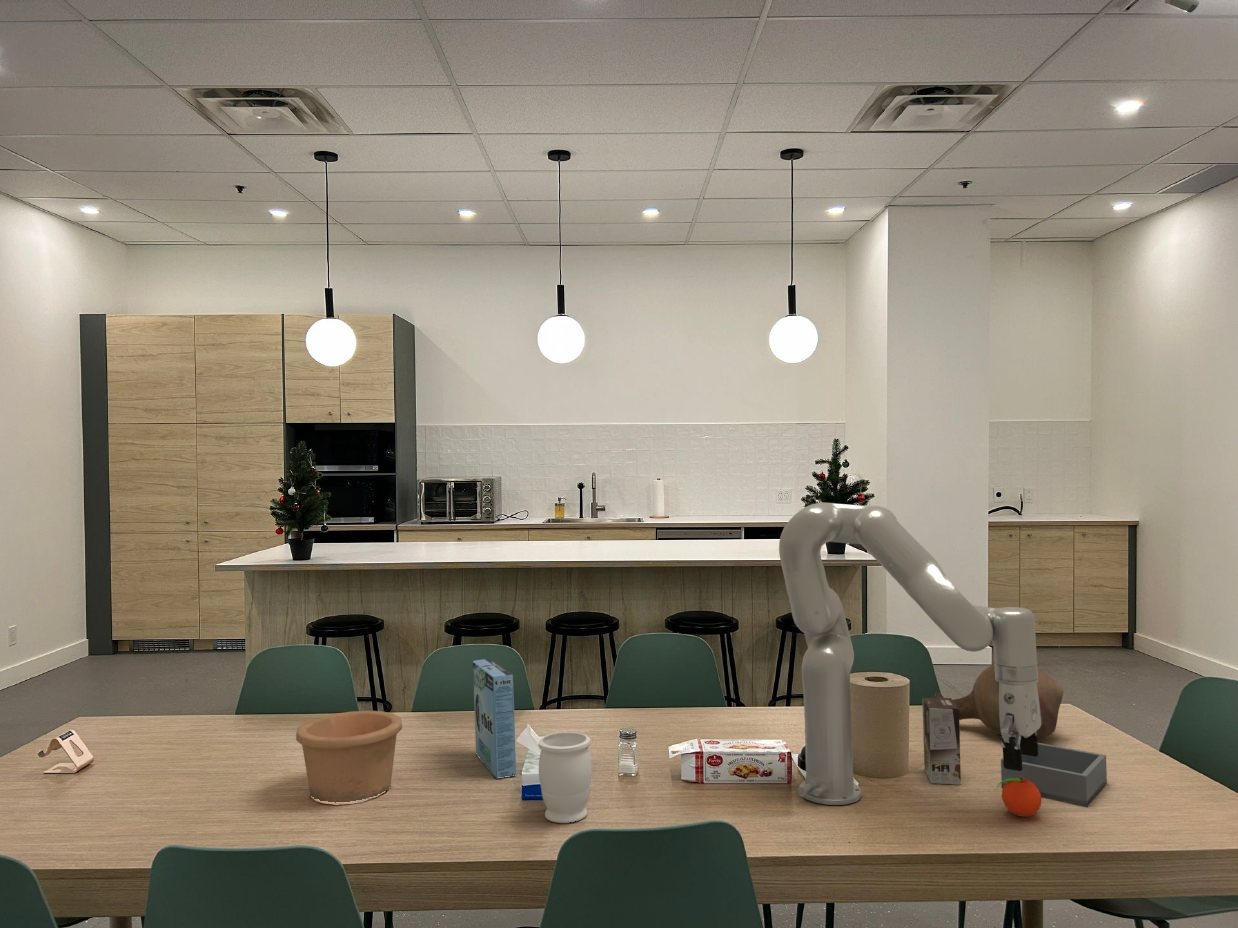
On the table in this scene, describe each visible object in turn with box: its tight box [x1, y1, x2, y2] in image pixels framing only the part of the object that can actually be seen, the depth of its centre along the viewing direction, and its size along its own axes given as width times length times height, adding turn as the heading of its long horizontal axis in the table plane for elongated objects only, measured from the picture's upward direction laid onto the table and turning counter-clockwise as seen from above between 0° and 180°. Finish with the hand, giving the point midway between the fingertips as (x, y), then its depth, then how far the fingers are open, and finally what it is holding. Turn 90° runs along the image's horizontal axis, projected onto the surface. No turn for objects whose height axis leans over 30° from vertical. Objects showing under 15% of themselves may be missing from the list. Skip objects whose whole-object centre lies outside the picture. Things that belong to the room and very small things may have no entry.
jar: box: [537, 731, 593, 824], centre depth 168 cm, size 11×10×15 cm
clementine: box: [995, 778, 1042, 818], centre depth 163 cm, size 8×7×7 cm
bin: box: [1000, 742, 1108, 808], centre depth 177 cm, size 16×16×6 cm
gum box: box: [472, 658, 517, 779], centre depth 198 cm, size 20×5×23 cm, turn 23°
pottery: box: [295, 710, 403, 803], centre depth 184 cm, size 22×22×14 cm
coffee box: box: [922, 697, 962, 786], centre depth 184 cm, size 9×6×16 cm
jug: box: [933, 663, 1064, 740], centre depth 212 cm, size 20×20×30 cm
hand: (1021, 761), depth 163 cm, fingers open, 9 cm apart
